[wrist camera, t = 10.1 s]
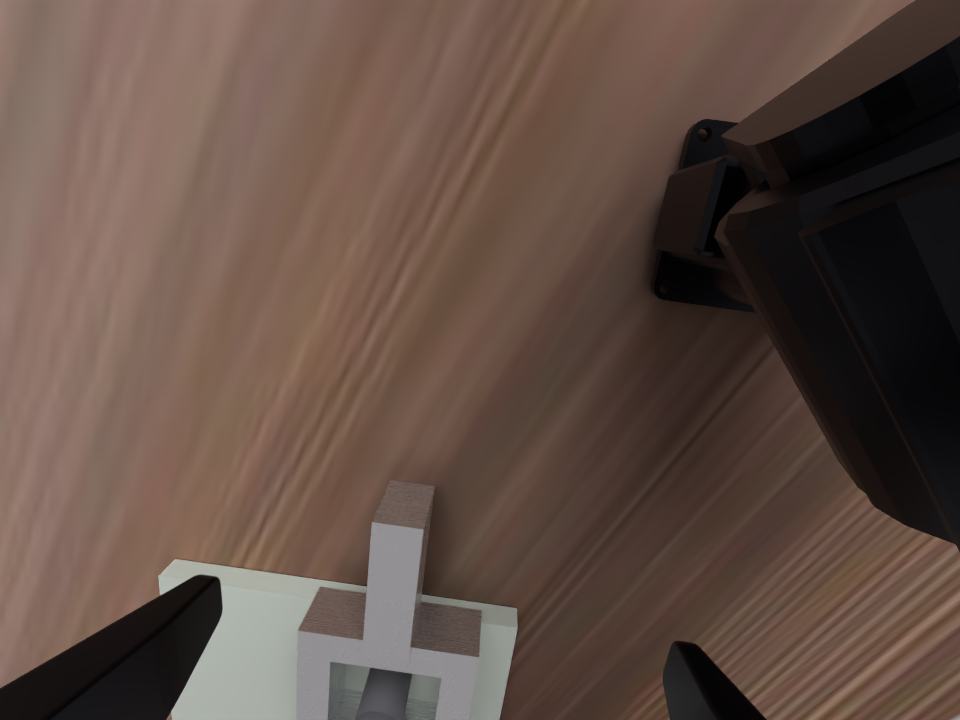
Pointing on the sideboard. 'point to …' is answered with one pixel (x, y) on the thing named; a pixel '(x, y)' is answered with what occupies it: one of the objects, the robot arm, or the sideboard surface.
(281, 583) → the keeper board
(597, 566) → the sideboard surface
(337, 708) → the steel link
